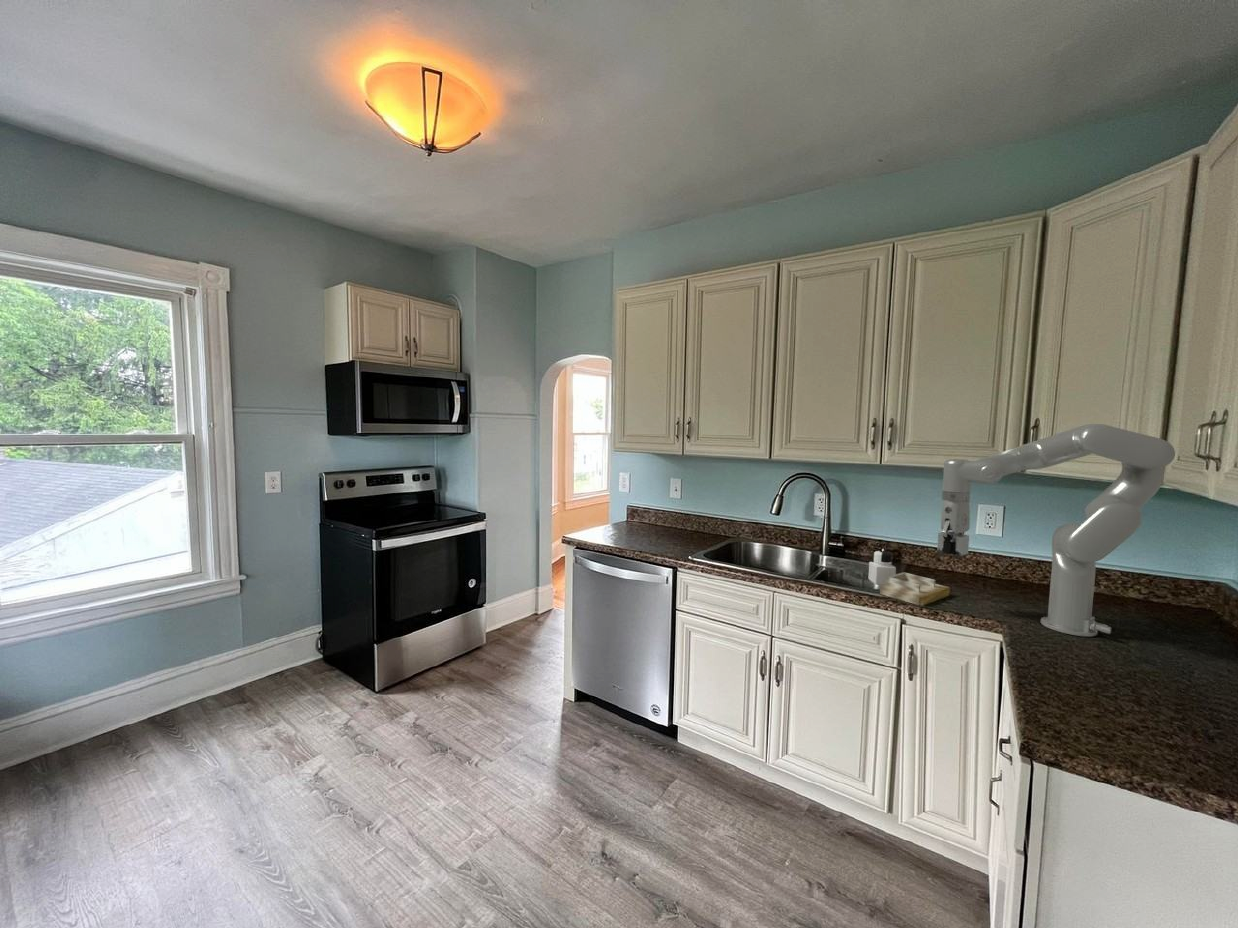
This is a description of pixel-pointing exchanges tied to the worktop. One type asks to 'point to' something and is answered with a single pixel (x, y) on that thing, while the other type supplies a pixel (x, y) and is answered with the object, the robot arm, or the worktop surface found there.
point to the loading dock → (913, 589)
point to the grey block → (960, 545)
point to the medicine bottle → (881, 568)
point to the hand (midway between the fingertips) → (952, 551)
